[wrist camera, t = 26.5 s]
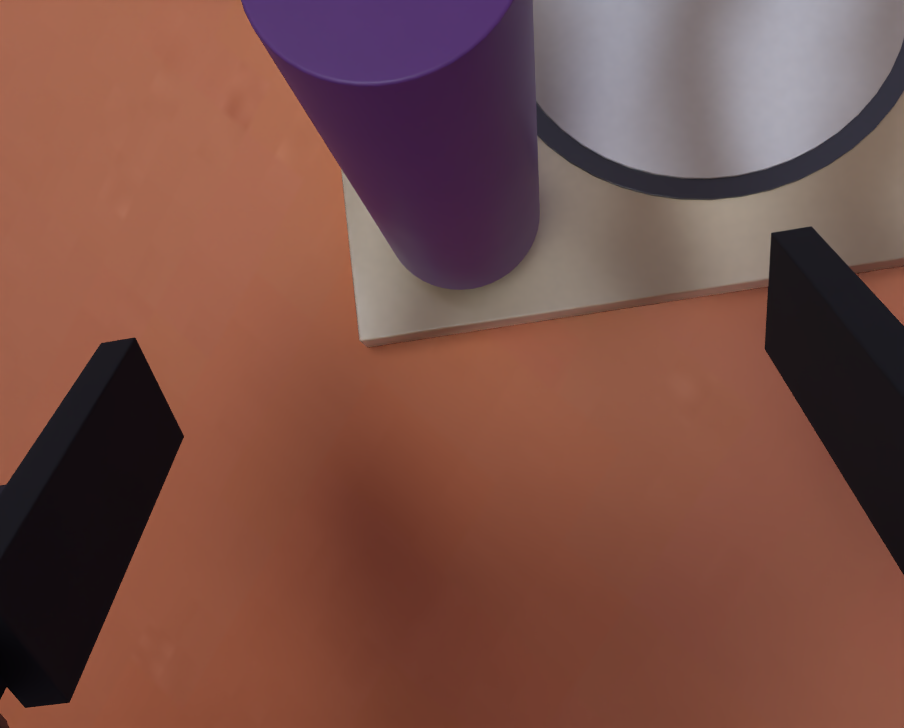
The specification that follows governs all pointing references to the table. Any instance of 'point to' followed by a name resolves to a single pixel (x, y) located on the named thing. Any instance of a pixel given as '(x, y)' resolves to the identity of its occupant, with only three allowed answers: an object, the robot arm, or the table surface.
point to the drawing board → (678, 160)
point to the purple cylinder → (423, 120)
